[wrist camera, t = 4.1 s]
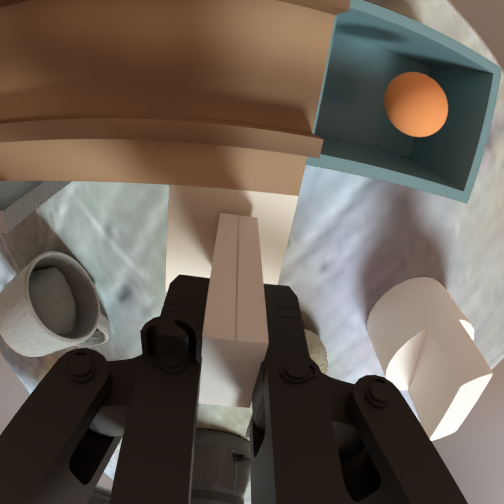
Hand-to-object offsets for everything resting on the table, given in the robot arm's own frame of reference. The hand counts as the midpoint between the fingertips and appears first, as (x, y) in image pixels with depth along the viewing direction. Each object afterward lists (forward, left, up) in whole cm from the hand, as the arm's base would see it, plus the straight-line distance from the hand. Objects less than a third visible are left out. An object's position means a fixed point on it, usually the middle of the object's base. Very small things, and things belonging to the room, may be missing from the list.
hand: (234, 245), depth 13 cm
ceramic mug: (-13, +14, -10) cm, 22 cm away
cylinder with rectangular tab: (-11, -18, -10) cm, 23 cm away
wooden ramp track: (+5, +11, 0) cm, 12 cm away
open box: (+7, -7, -10) cm, 14 cm away
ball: (+7, -7, -3) cm, 11 cm away
